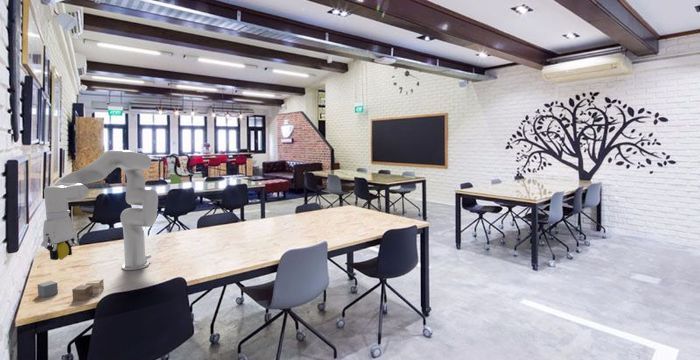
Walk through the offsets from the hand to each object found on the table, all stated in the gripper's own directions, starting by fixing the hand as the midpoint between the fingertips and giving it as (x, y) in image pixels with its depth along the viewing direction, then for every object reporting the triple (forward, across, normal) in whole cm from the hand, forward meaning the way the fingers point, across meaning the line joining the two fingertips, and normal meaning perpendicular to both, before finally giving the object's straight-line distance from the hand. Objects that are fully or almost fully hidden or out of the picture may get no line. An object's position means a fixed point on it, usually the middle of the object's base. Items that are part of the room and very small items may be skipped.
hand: (61, 256), depth 158 cm
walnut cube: (+18, 0, +9) cm, 20 cm away
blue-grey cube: (+18, 0, -9) cm, 20 cm away
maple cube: (+18, -7, +8) cm, 21 cm away
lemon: (+1, 0, 0) cm, 1 cm away
